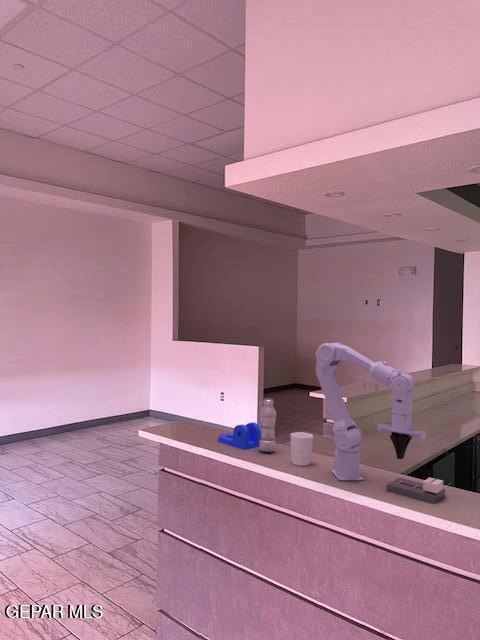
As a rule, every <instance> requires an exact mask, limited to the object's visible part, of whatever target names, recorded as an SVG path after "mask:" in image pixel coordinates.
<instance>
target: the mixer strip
mask: <svg viewBox="0 0 480 640" xmlns="http://www.w3.org/2000/svg"><path fill="white" fill-rule="evenodd" d="M386 491H387V492H389V493H393V494H396V495H401V496H403V497H408V498H411V499H415V500H419V501H422V502H426V503H429V504H436V503H437V502H439V501H440V500H441V499H442V498H443V497H445V496H446V488H444V487H443V490H441V491H440V492H438V493H433V492H429V491H425V490H423V482H420V481H419V482H418V481H416V480H411V479H407V478H403V477H398V478H395V479H394V480H392V481H390V482H389V483H386Z"/></svg>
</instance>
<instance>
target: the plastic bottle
mask: <svg viewBox="0 0 480 640" xmlns="http://www.w3.org/2000/svg"><path fill="white" fill-rule="evenodd" d="M262 403H263V406H262V408H261V409H260V411H259V420H260V440H259V447H258V449H259V450H260V452H263V453H273V452H274V451H275V450H276V445H277V444H276V437H275V429H276V428H275V426H276V419H277V411H276V409H275V407H274V406H273V405H274V399H273V398H263V402H262Z"/></svg>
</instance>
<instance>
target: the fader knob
mask: <svg viewBox="0 0 480 640" xmlns="http://www.w3.org/2000/svg"><path fill="white" fill-rule="evenodd" d="M422 483H423V490H425V491H429V492H433V493H438V492H440V491H441V490H443V488H444V480H441V479H438V478H433V477H430V476H429V477H427V479H425V480H423V481H422Z"/></svg>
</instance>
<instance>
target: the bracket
mask: <svg viewBox="0 0 480 640" xmlns="http://www.w3.org/2000/svg"><path fill="white" fill-rule="evenodd" d="M260 433H261V427H260V426H259V425H258V423H256V422H253V421H252V422H248V423H247V424H246V425H245V424H243V423H241V424H237V425H236V426H234V428H233V431H232V433H221V434H218V436H217V442H219V443H221V444H225V445H227V446H230V447H234V448H237V449H240V450H245V451H246V450H250V449H255V448H259V440H260Z"/></svg>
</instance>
